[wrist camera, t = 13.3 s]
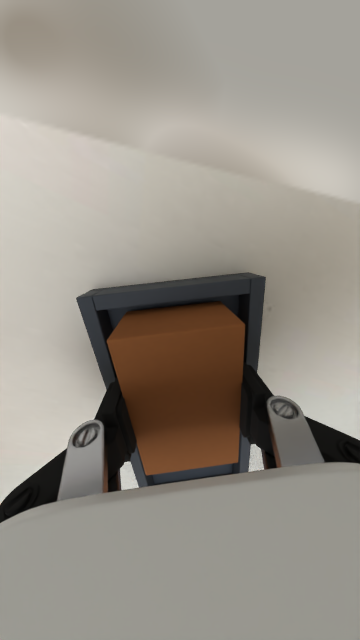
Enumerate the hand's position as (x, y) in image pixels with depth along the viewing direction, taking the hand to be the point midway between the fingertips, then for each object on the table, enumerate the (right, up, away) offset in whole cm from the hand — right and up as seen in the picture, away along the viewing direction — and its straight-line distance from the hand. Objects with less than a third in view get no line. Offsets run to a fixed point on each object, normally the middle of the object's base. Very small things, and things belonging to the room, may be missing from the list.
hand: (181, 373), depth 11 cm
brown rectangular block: (0, 0, 0) cm, 0 cm away
